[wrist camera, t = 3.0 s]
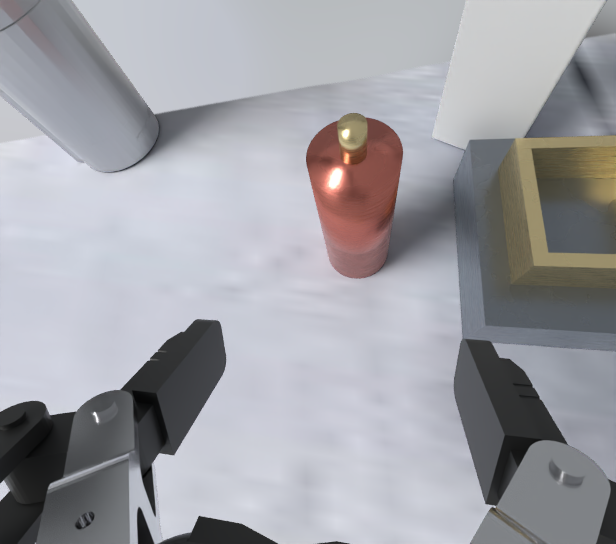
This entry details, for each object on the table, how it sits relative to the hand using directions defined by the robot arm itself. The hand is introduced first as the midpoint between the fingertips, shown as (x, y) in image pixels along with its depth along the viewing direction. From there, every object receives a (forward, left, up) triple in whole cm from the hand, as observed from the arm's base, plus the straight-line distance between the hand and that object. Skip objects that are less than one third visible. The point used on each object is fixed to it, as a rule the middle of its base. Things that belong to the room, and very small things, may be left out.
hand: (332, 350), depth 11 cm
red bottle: (0, +11, -15) cm, 18 cm away
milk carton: (+11, +24, -15) cm, 30 cm away
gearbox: (+14, +11, -15) cm, 23 cm away
